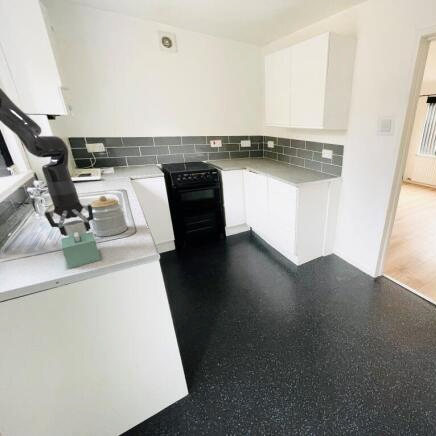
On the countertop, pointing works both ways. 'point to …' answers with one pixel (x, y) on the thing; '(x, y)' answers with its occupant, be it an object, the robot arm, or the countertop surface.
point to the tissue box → (80, 249)
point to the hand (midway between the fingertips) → (77, 232)
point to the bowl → (75, 227)
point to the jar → (107, 217)
